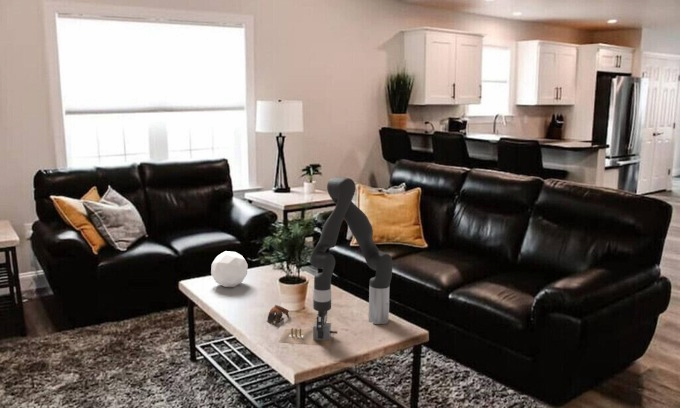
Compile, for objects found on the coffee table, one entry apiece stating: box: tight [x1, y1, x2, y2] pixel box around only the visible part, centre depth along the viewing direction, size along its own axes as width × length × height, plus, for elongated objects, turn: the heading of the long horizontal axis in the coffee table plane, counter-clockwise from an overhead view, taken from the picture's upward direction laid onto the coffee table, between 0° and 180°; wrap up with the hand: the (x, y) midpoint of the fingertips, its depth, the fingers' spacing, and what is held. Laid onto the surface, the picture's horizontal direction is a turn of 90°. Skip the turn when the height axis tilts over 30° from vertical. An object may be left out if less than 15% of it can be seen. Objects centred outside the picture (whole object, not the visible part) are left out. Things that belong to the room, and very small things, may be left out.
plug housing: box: [312, 321, 338, 341], centre depth 245 cm, size 10×4×6 cm, turn 83°
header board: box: [278, 327, 335, 347], centre depth 247 cm, size 22×14×5 cm, turn 83°
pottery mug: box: [266, 304, 290, 325], centre depth 266 cm, size 12×10×8 cm
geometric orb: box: [210, 250, 249, 288], centre depth 311 cm, size 19×20×20 cm
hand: (322, 334), depth 246 cm, fingers open, 8 cm apart
